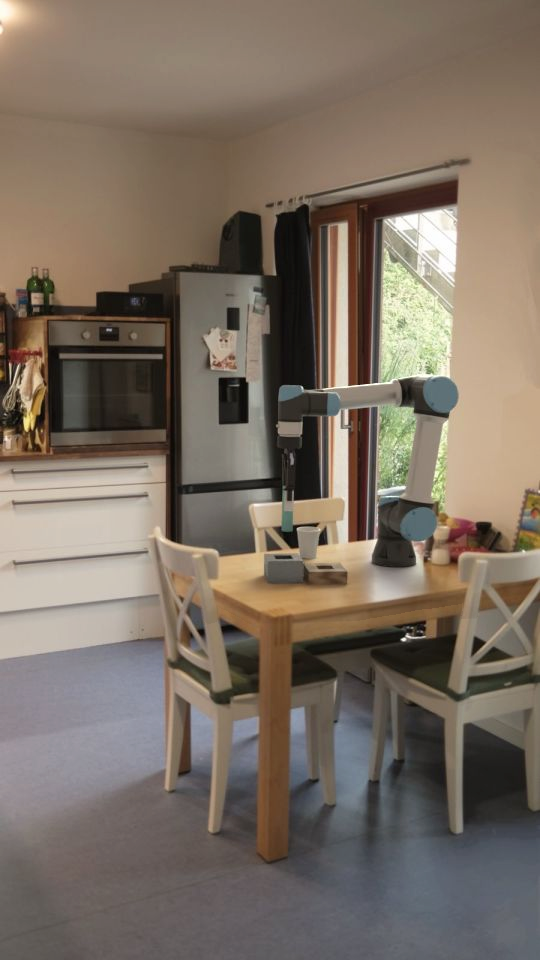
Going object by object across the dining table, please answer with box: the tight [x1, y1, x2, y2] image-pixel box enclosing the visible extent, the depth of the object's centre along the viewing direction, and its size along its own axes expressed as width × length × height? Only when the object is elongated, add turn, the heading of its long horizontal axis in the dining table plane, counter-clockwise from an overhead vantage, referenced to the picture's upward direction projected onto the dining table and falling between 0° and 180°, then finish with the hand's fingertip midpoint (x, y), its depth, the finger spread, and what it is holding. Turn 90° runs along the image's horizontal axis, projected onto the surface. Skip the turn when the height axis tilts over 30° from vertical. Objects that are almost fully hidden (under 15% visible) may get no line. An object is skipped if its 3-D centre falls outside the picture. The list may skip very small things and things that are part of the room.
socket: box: [263, 552, 304, 584], centre depth 309 cm, size 11×11×7 cm
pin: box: [281, 485, 295, 533], centre depth 306 cm, size 4×4×14 cm
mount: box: [303, 562, 348, 586], centre depth 308 cm, size 12×12×4 cm
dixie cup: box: [296, 526, 321, 560], centre depth 341 cm, size 8×8×10 cm
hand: (287, 509), depth 306 cm, fingers closed on pin, 3 cm apart
